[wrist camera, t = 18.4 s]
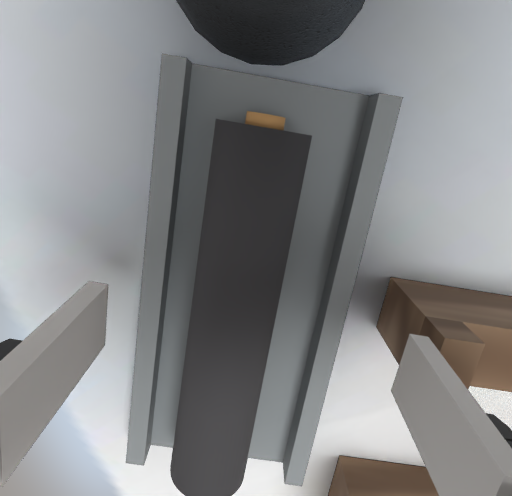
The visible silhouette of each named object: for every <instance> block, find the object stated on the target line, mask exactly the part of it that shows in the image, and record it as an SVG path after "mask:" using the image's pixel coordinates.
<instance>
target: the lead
mask: <svg viewBox="0 0 512 496" xmlns="http://www.w3.org/2000/svg"><path fill="white" fill-rule="evenodd" d="M285 119H286V118H284V117H280V116H275V115H270V114H264V113H258V112H251V111H247V114H246V121H245V124H243V123H237V122H231V121H226V120H220V119H216V121H215V129H214V136H213V144H212V152H211V160H210V167H209V175H208V183H207V190H206V198H205V206H204V214H203V221H202V229H201V237H200V244H199V252H198V260H197V267H196V275H195V283H194V291H193V298H192V306H191V314H190V321H189V329H188V337H187V345H186V352H185V360H184V368H183V375H182V383H181V391H180V399H179V406H178V414H177V422H176V429H175V437H174V445H173V453H172V460H171V469H170V471H171V477H172V480H173V483H174V484H175V486H176V487H177V488H178V490H179V491H180V492H181V493H183V494H184V495H185V496H231V495H233V494H234V493H235V492H236V491H237V490H238V489H239V487H240V486H241V484H242V481H243V478H244V473H245V468H246V463H247V458H248V453H249V448H250V443H251V438H252V433H253V428H254V423H255V418H256V413H257V408H258V403H259V398H260V393H261V388H262V383H263V378H264V373H265V368H266V363H267V358H268V353H269V349H270V344H271V339H272V334H273V329H274V324H275V319H276V314H277V309H278V304H279V299H280V294H281V289H282V284H283V279H284V274H285V269H286V264H287V259H288V254H289V249H290V244H291V239H292V234H293V229H294V224H295V219H296V214H297V209H298V204H299V199H300V194H301V189H302V184H303V179H304V174H305V169H306V164H307V159H308V154H309V149H310V144H311V139H312V135H306V134H300V133H295V132H289V131H283V130H284V124H285Z"/></svg>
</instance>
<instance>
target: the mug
mask: <svg viewBox="0 0 512 496" xmlns="http://www.w3.org/2000/svg"><path fill="white" fill-rule="evenodd" d="M177 2H178V4H179V5H180V7H181V8H182V10H183V11H184V13H185V15H186V16H187V18H188V19H189V21H190V22H191V24H192V25H193V27H194V29H195V30H196V31H197V32H198V33H199V34H201V35H202V36H203V37H204V38H205V39H206V40H208V41H209V42H210V43H211V44H212V45H213V46H215V47H216V48H217V49H218V50H219V51H221V52H222V53H225V54H227V55H230V56H232V57H235V58H237V59H240V60H242V61H245V62H247V63H250V64H260V65H285V64H289V63H292V62H295V61H298V60H302V59H305V58H308V57H311V56H314V55H315V54H317V53H318V52H319V51H321V50H322V49H323V48H325V47H326V46H328V45H329V44H330V43H332V42H333V41H335V40H336V39H337V38H339V37H340V36H341V35H342V34H343V32H344V31H345V30H346V28H347V27H348V26H349V24H350V23H351V22H352V20H353V19H354V18H355V17H356V15H357V14H358V13H359V11H360V10H361V9H362V7H363V4H364V2H365V0H177Z"/></svg>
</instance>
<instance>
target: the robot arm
mask: <svg viewBox="0 0 512 496" xmlns="http://www.w3.org/2000/svg"><path fill="white" fill-rule="evenodd" d="M107 299H108V284H103V283H97V282H91V281H88V282H87V283H86V284H85V285H84V286H83V287H82V288H81V289H80V290H78V291H77V292H76V293H75V294H74V295H73V296H72V297H71V298H70V299H69V300H67V301H66V302H65V303H64V304H63V305H62V306H61V307H60V308H59V309H57V310H56V311H55V312H54V313H53V314H52V315H51V316H50V317H49V318H47V319H46V320H45V321H44V322H43V323H42V324H41V325H40V326H39V327H37V328H36V329H35V330H34V331H33V332H32V333H31V334H30V335H29V336H28V337H26V338H25V339H24V340H23V341H21V340H14V339H8V340H6V341H3V342H1V343H0V487H3V486H4V484H5V483H6V482H7V480H8V479H9V477H10V476H11V474H12V473H13V472H14V471H15V469H16V468H17V466H18V465H19V464H20V462H21V461H22V459H23V458H24V457H25V455H26V454H27V452H28V451H29V450H30V448H31V447H32V446H33V444H34V443H35V441H36V440H37V438H38V437H39V436H40V434H41V433H42V432H43V430H44V429H45V428H46V426H47V425H48V423H49V422H50V420H51V419H52V418H53V416H54V415H55V414H56V412H57V411H58V410H59V408H60V407H61V405H62V404H63V403H64V401H65V400H66V398H67V397H68V396H69V394H70V393H71V391H72V390H73V389H74V387H75V386H76V385H77V383H78V382H79V380H80V379H81V378H82V376H83V375H84V373H85V372H86V371H87V369H88V368H89V367H90V365H91V364H92V362H93V361H94V360H95V358H96V357H97V355H98V354H99V353H100V351H101V350H102V348H103V347H104V346H105V335H106V317H107ZM391 392H392V394H393V396H394V398H395V401H396V403H397V405H398V407H399V409H400V411H401V414H402V416H403V418H404V420H405V422H406V425H407V427H408V429H409V431H410V433H411V435H412V438H413V440H414V442H415V444H416V446H417V448H418V451H419V453H420V455H421V457H422V459H423V462H424V464H425V466H426V468H427V470H428V472H429V475H430V477H431V479H432V481H433V483H434V485H435V488H436V490H437V492H438V494H439V496H512V431H511V429H510V428H509V427H508V426H507V425H506V424H504V423H503V422H502V421H501V420H499V419H498V418H497V417H496V416H495V415H493V414H487V413H485V412H484V411H483V409H482V408H481V407H480V405H479V404H478V403H477V401H476V400H475V399H474V397H473V396H472V395H471V393H470V392H469V391H468V389H467V388H466V387H465V385H464V384H463V383H462V381H461V380H460V378H459V377H458V376H457V374H456V373H455V372H454V370H453V369H452V368H451V366H450V365H449V364H448V362H447V361H446V360H445V358H444V357H443V356H442V354H441V353H440V352H439V350H438V349H437V348H436V346H435V345H434V344H433V342H432V341H431V340H430V338H429V337H427V336H421V335H414V334H409V337H408V340H407V343H406V346H405V349H404V353H403V356H402V359H401V362H400V365H399V368H398V371H397V374H396V377H395V380H394V383H393V386H392V389H391Z"/></svg>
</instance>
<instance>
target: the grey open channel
mask: <svg viewBox="0 0 512 496" xmlns="http://www.w3.org/2000/svg"><path fill="white" fill-rule="evenodd" d="M402 99H403V97H399V96H393V95H388V94H382V93H378V94H374V95H370V96H369V95H363V94H358V93H352V92H347V91H341V90H336V89H330V88H325V87H319V86H314V85H308V84H303V83H297V82H292V81H286V80H281V79H275V78H270V77H264V76H258V75H253V74H247V73H242V72H236V71H231V70H225V69H220V68H214V67H209V66H203V65H198V64H192V63H191V62H190V61H189V60H188V59H187V58H185V57H179V56H174V55H168V54H163V53H162V57H161V69H160V80H159V91H158V103H157V114H156V125H155V137H154V148H153V159H152V171H151V182H150V194H149V205H148V216H147V228H146V239H145V250H144V262H143V273H142V284H141V296H140V307H139V318H138V330H137V341H136V352H135V364H134V375H133V386H132V398H131V409H130V420H129V432H128V443H127V454H126V463H129V464H136V465H144V463H145V460H146V457H147V454H148V451H149V448H150V445H156V446H164V447H171V448H173V445H174V437H175V429H176V422H177V414H178V406H179V399H180V391H181V383H182V375H183V368H184V360H185V352H186V345H187V337H188V329H189V321H190V314H191V306H192V298H193V291H194V283H195V275H196V267H197V260H198V252H199V244H200V237H201V229H202V221H203V214H204V206H205V198H206V190H207V183H208V175H209V167H210V160H211V152H212V144H213V136H214V129H215V121H216V119H220V120H226V121H231V122H237V123H243V124H245V121H246V114H247V111H251V112H258V113H264V114H270V115H275V116H280V117H284V118H286V119H285V124H284V130H283V131H289V132H295V133H300V134H306V135H312V139H311V144H310V149H309V154H308V159H307V164H306V169H305V174H304V179H303V184H302V189H301V194H300V199H299V204H298V209H297V214H296V219H295V224H294V229H293V234H292V239H291V244H290V249H289V254H288V259H287V264H286V269H285V274H284V279H283V284H282V289H281V294H280V299H279V304H278V309H277V314H276V319H275V324H274V329H273V334H272V339H271V344H270V349H269V353H268V358H267V363H266V368H265V373H264V378H263V383H262V388H261V393H260V398H259V403H258V408H257V413H256V418H255V423H254V428H253V433H252V438H251V443H250V448H249V453H248V458H254V459H261V460H269V461H276V462H283V469H284V482H285V484H289V485H297V486H302V484H303V480H304V476H305V473H306V469H307V465H308V461H309V457H310V453H311V449H312V446H313V442H314V438H315V434H316V430H317V426H318V422H319V419H320V415H321V411H322V407H323V403H324V399H325V395H326V392H327V388H328V384H329V380H330V376H331V372H332V369H333V365H334V361H335V357H336V353H337V349H338V345H339V342H340V338H341V334H342V330H343V326H344V322H345V318H346V315H347V311H348V307H349V303H350V299H351V295H352V291H353V288H354V284H355V280H356V276H357V272H358V268H359V265H360V261H361V257H362V253H363V249H364V245H365V241H366V238H367V234H368V230H369V226H370V222H371V218H372V214H373V211H374V207H375V203H376V199H377V195H378V191H379V187H380V184H381V180H382V176H383V172H384V168H385V164H386V161H387V157H388V153H389V149H390V145H391V141H392V137H393V134H394V130H395V126H396V122H397V118H398V114H399V110H400V107H401V103H402Z"/></svg>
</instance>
